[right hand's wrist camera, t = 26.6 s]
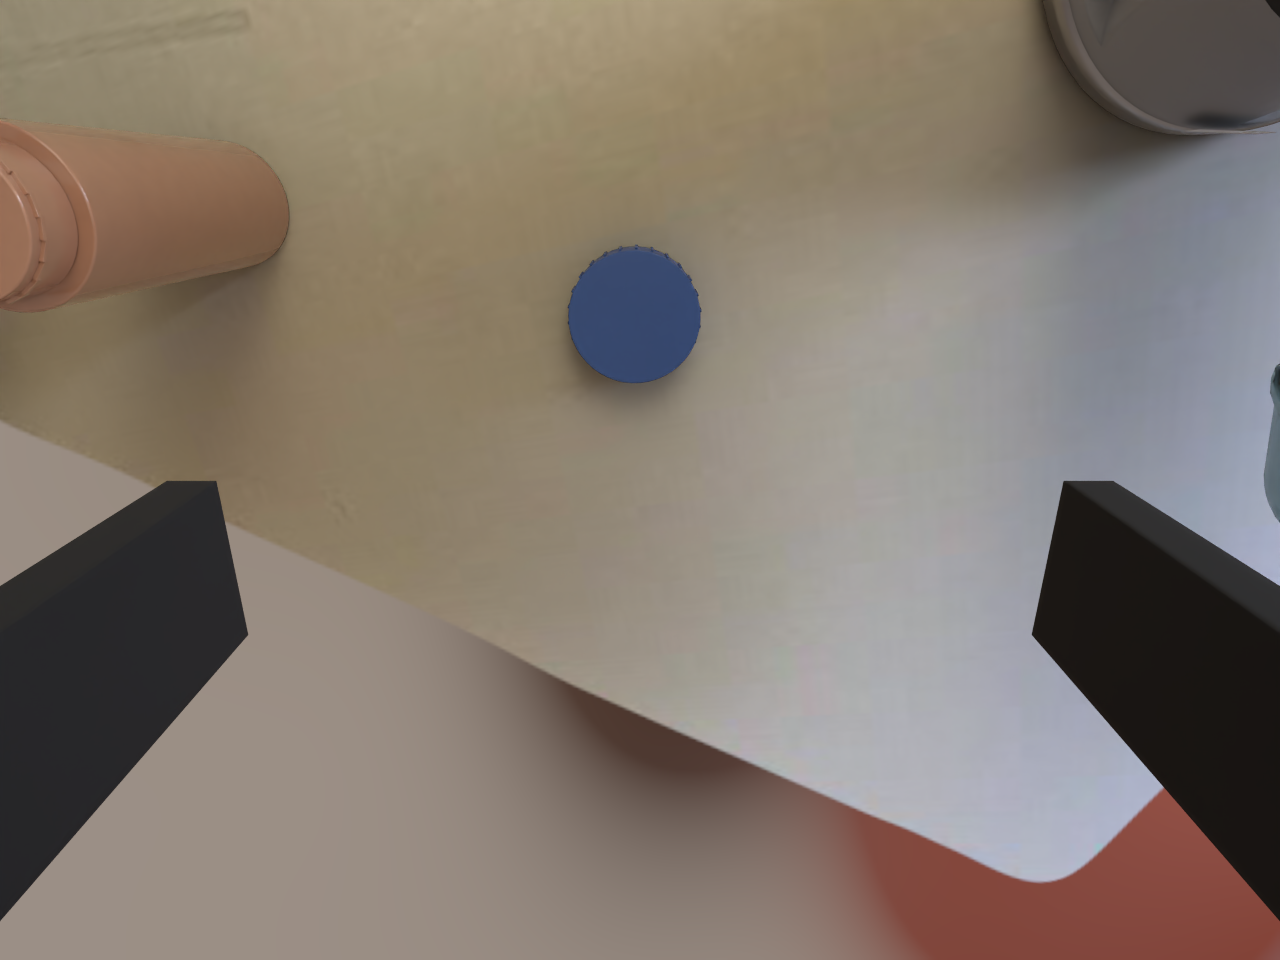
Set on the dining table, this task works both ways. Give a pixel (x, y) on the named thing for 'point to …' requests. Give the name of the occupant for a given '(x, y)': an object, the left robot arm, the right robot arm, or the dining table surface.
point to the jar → (126, 212)
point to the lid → (634, 314)
